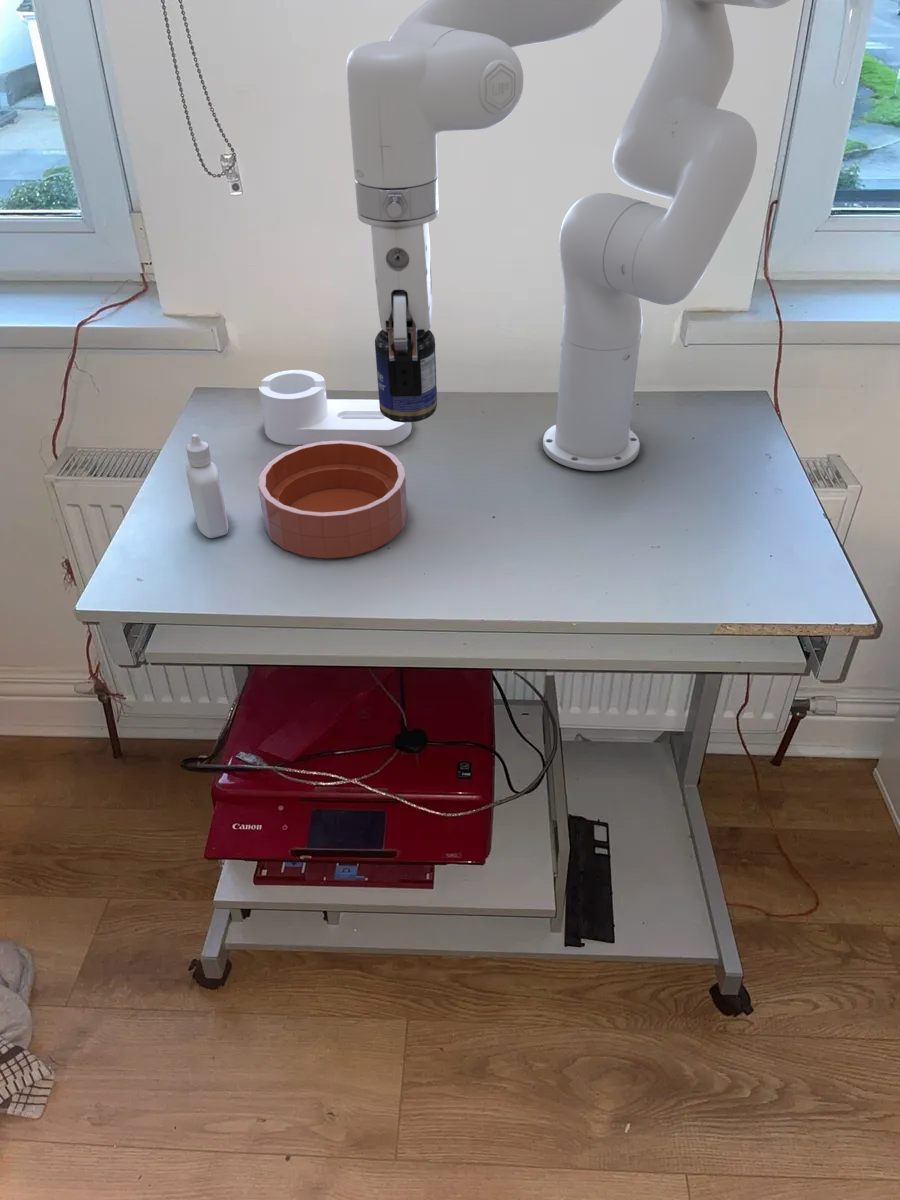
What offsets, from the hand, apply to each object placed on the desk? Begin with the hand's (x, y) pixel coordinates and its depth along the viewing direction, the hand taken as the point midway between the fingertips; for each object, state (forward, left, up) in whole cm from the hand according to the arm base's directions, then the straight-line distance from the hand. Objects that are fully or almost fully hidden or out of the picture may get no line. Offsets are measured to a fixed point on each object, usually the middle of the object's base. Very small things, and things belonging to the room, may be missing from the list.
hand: (407, 378), depth 98 cm
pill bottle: (0, 0, -4) cm, 4 cm away
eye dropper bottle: (+10, -21, -19) cm, 30 cm away
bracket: (-16, -22, -19) cm, 33 cm away
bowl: (+2, -9, -19) cm, 21 cm away
